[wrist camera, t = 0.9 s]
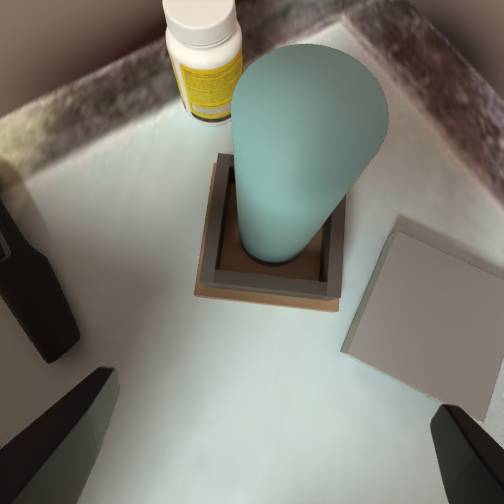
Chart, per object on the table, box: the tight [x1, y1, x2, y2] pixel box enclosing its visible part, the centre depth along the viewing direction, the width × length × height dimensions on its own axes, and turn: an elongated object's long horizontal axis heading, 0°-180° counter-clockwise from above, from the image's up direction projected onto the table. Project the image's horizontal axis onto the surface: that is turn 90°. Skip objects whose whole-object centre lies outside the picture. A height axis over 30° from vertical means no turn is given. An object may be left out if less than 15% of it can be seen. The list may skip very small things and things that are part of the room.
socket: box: [194, 153, 346, 312], centre depth 22 cm, size 9×9×4 cm
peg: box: [231, 44, 389, 267], centre depth 16 cm, size 5×5×13 cm
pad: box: [340, 231, 504, 422], centre depth 22 cm, size 9×9×2 cm
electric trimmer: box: [0, 200, 80, 364], centre depth 22 cm, size 4×16×3 cm, turn 36°
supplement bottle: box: [163, 0, 243, 126], centre depth 22 cm, size 5×5×8 cm
